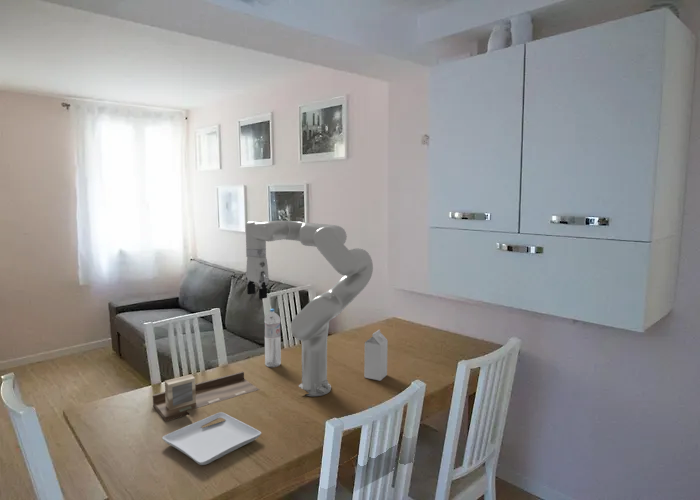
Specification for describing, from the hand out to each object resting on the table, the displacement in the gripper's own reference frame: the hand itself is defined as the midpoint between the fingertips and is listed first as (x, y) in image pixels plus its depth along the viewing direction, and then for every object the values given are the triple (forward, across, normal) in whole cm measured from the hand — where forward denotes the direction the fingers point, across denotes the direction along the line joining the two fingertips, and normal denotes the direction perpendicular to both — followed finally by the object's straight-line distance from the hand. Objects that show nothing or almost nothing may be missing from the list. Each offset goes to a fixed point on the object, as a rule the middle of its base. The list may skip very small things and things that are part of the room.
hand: (257, 296), depth 177 cm
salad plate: (+35, -34, +33) cm, 59 cm away
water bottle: (+34, +10, -12) cm, 38 cm away
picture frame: (+33, -6, +33) cm, 47 cm away
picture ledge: (+34, -5, +23) cm, 41 cm away
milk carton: (+35, -27, -39) cm, 59 cm away
